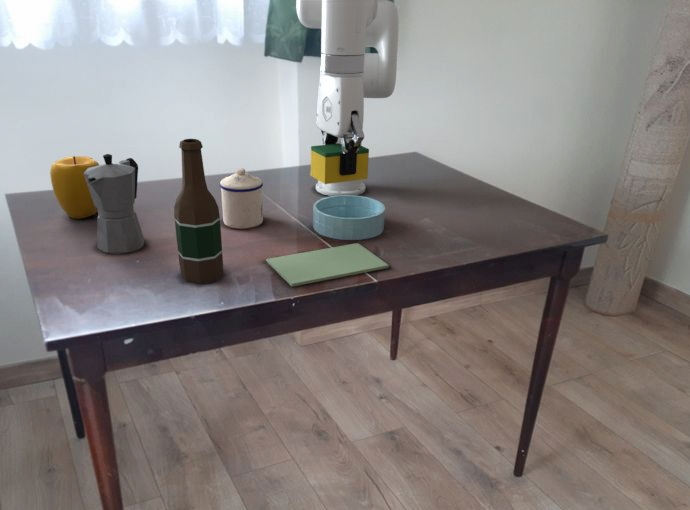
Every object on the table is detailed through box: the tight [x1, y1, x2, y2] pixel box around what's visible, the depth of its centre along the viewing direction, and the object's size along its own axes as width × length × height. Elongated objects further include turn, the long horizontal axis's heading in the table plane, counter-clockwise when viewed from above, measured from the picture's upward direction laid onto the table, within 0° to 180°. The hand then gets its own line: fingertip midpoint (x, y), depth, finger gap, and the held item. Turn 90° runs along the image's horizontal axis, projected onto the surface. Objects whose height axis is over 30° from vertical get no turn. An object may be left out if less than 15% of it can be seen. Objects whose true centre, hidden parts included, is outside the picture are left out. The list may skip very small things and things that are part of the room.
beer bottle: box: [173, 138, 224, 285], centre depth 109 cm, size 8×8×24 cm
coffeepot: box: [84, 153, 145, 255], centre depth 123 cm, size 15×9×18 cm, turn 162°
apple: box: [49, 155, 100, 220], centre depth 137 cm, size 11×11×13 cm
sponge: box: [310, 143, 370, 184], centre depth 118 cm, size 9×6×6 cm, turn 116°
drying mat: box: [266, 242, 390, 287], centre depth 120 cm, size 20×12×1 cm, turn 116°
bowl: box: [312, 195, 386, 241], centre depth 135 cm, size 15×15×5 cm
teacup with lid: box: [219, 167, 264, 230], centre depth 137 cm, size 12×9×12 cm
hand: (339, 169), depth 118 cm, fingers closed on sponge, 6 cm apart
